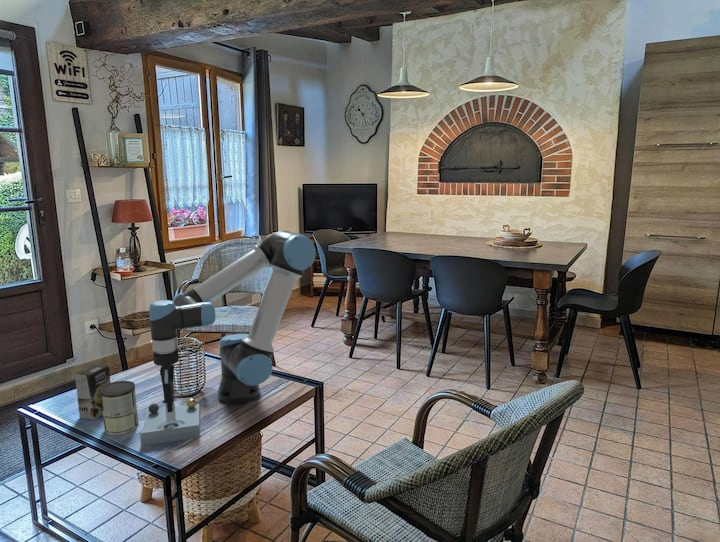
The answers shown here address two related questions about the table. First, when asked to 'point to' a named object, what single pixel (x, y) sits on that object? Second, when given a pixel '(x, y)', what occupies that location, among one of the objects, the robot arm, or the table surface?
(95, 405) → the coffee box
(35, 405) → the table surface
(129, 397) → the coffee can
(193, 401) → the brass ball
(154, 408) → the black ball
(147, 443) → the board
